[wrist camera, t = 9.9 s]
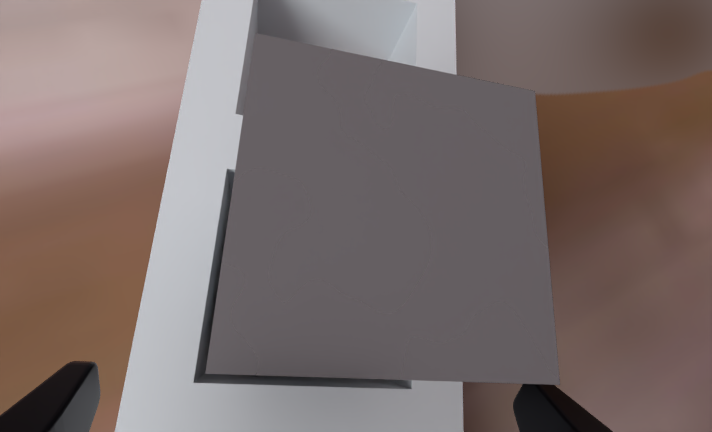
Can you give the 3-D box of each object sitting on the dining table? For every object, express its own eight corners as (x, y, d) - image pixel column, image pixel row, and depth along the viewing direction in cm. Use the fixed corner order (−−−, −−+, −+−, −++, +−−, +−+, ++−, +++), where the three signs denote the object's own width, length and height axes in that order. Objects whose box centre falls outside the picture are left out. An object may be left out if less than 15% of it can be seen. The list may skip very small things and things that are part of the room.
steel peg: (352, 349, 17) (560, 384, 5) (238, 344, 16) (205, 373, 4) (357, 241, 18) (535, 90, 7) (253, 230, 17) (255, 32, 6)
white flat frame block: (412, 717, 14) (471, 860, 10) (84, 767, 12) (6, 970, 8) (420, 33, 22) (454, -29, 18) (226, -12, 20) (220, -92, 16)
